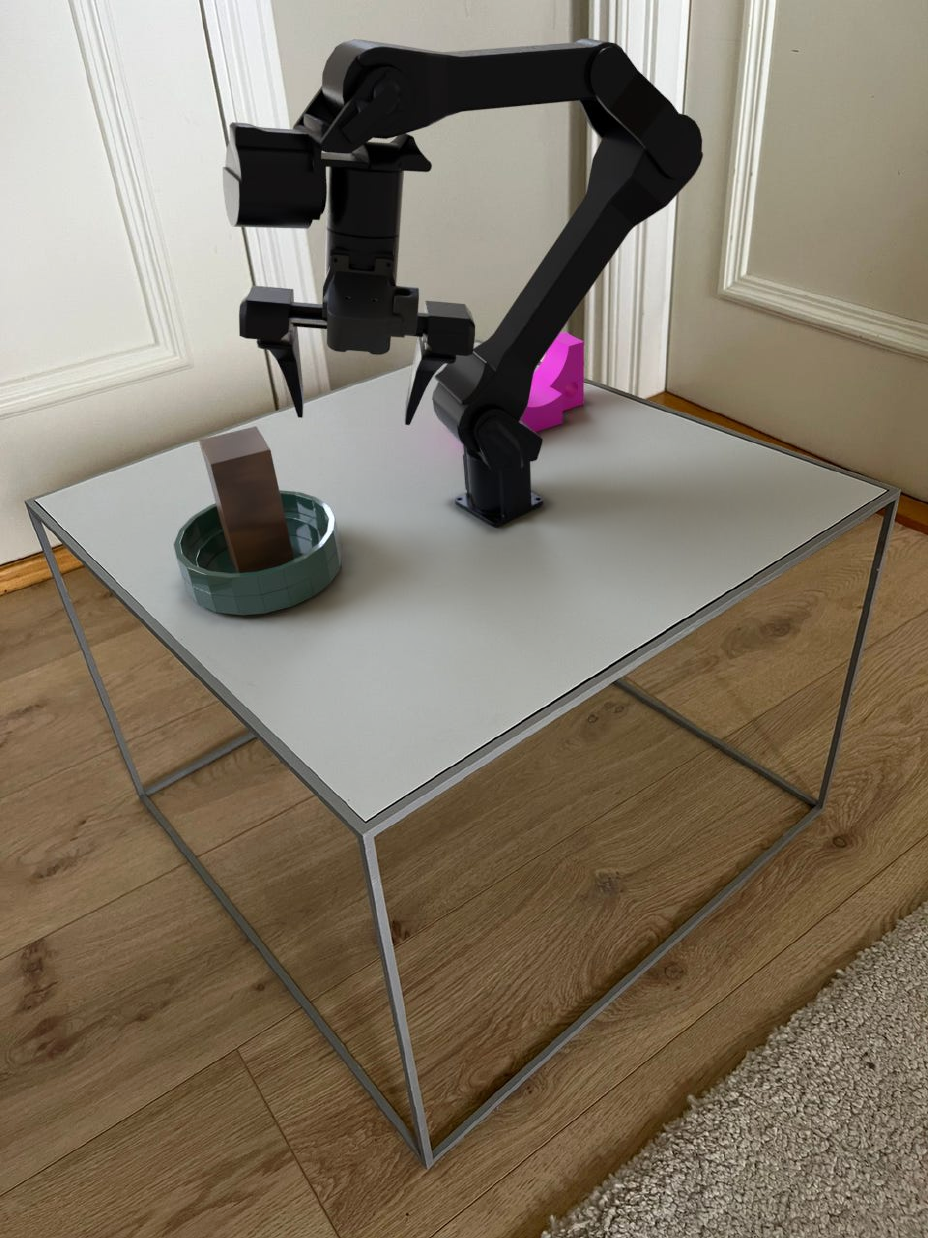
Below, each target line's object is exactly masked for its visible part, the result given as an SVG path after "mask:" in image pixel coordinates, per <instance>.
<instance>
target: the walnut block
mask: <svg viewBox="0 0 928 1238" xmlns="http://www.w3.org/2000/svg"><path fill="white" fill-rule="evenodd" d="M198 442H199V446H200V449H201V452H202V457H203V461H204V465H205V469H206V472H207V476H208V479H209V482H210V488H211V490H212V494H213V498H214V501H215V502H214V503H216V506H217V510H218V513H219V517H220V521H221V525H222V528H223V532H224V536H225V540H226V543H227V547H228V551H229V555H230V558H231V562H232V564H233V566H234V569H235V571H236V573H247V572H258V571H262V570H266V569H269V568H273V567H277V566H281V565H283V564H285V563H287V562H290V561H292V560H294V556H293V551H292V546H291V542H290V537H289V533H288V528H287V523H286V519H285V514H284V510H283V505H282V500H281V496H280V491H279V490H280V487H279V483H278V478H277V473H276V468H275V464H274V460H273V459H274V458H273V454H272V449H271V448H270V447H269V445H268V443H267V442H266V440H265V438H264V436H263V435H262V433H261V432H260V430H259V428H258V427H257V426H252V427H249V428H247V427H246V428H244V429H239V430H236V431H231V432H226V433H223V434H219V435H214V436H210V437H207V438H201V439H199V441H198Z"/></svg>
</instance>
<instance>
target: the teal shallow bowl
mask: <svg viewBox="0 0 928 1238" xmlns="http://www.w3.org/2000/svg"><path fill="white" fill-rule="evenodd" d="M279 491H280V496H281V500H282V505H283V510H284V514H285V519H286V523H287V528H288V533H289V537H290V542H291V546H292V551H293V556H294V560H292V561H290V562H287V563H285V564H283V565H281V566H277V567H273V568H269V569H266V570H262V571H258V572H247V573H236V571H235V569H234V566H233V564H232V562H231V558H230V555H229V551H228V547H227V543H226V540H225V536H224V532H223V528H222V525H221V521H220V517H219V513H218V510H217V506H216V502H214V503H212V504H210V505H208V506H206V507H205V508H203V509H202V510H199V511H198V512H196V513H195V514H194V515H192V516H190V517H189V519H188V520H186V522H185V523H184V524H183V525H182V526H181V527H180V528H179V530H178V531H177V534H176V536H175V539H174V542H173V550H174V553H175V559H176V561H177V564H178V568H179V570H180V574H181V577H182V580H183V584H184V587H185V590H186V593H187V595H188V596H189V597H190V598H191V599H192V600H193V601H194V602H195V603H196V604H197V605H198V606H199V607H201V608H202V607H203V608H205V609H207V610H210V611H212V612H214V613H220V614H228V615H236V616H250V615H265V614H268V613H273V612H276V611H280V610H284V609H287V608H291V607H294V606H295V605H298V604H301V603H302V602H304V601H306V600H308V599H311V598H312V597H315V596H316V595H317V594H318V593H320V592H321V591H322V590H324V589H325V588H326V587H328V585H330V584H331V583H332V582H333V580H334V579H335V577H336V575H337V574H338V572H339V571H340V569H341V564H342V555H343V554H342V548H341V543H340V537H339V536H340V535H339V532H338V531H339V530H338V525H337V519H336V516H335V514H334V512H333V510H332V509H331V506H330V505H328V504H326V503H325V502H324V501H322V500H321V499H320V498H318V497H316V496H313V495H310V494H307V493H303V492H301V491H295V490H285V489H284V490H282V489H279Z"/></svg>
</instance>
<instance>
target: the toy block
mask: <svg viewBox="0 0 928 1238" xmlns="http://www.w3.org/2000/svg"><path fill="white" fill-rule="evenodd" d="M584 375H585V341H583V340H582V339H579V338H577V337H575V336H573V334H570V333H568V332H566V331H563V332H560V333H559V335H558V336H557V338H556V339H555V341H554V342H553V343H552V345H551V346H550V348H549V349H548V351H547V352H546V354H545V355H544V357H543V358H542V360H541V363H539V366H537V368H536V369H535V371H534V374H533V380H532V385H531V391H530V396H529V401H528V406H527V408H526V410H525V412H524V414H523V416H522V418H521V420H522V421H523V422H524V423H525V424H526V425H527V426H529V427H530V428H531V429H532V430H533V431H534V432H535V433H537V432H540V431H543V430H545V429H549V428H552V427H555V426H558V425H561V424H563V412H564V411H567V410H571V409H573V408H577V407H579V406H582V405H584V402H585V401H584V397H585V394H584V391H585V389H584V387H585V385H584V384H585V377H584Z"/></svg>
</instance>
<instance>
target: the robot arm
mask: <svg viewBox="0 0 928 1238" xmlns="http://www.w3.org/2000/svg"><path fill="white" fill-rule="evenodd" d="M630 58H631V57H629V56H628V54H627V53H626V52H625V50H624V48H623V47H622V46H620V45H619V44H618V43H616V42H612V41H604V40H599V39H595V38H587V37H584V38H583V37H582V38H580V39H578V40H576V41H572V42H564V43H551V44H550V43H549V44H537V45H535V44H534V45H523V46H508V47H495V48H483V49H469V50H468V49H467V50H456V51H437V50H432V49H431V50H430V49H424V48H418V47H412V46H406V45H401V44H395V43H394V44H393V43H386V42H379V41H374V40H373V41H372V40H367V39H359V38H358V39H356V38H354V39H351V40H346V41H343V42H341V43H339V44H337V45H336V46H335V47H334V49H333V51H332V52H331V53H330V55H329V56H328V58H327V59H326V61H325V64H324V67H323V71H322V73H321V75H322V76H321V86H320V87H319V88H318V90H317V92H316V93H315V95H314V96H313V98H312V99H311V101H310V102H309V103H308V105H307V106H306V107H305V109H304V110H303V112H302V113H301V114H300V116H299V117H298V119H297V120H296V121H295V123H294V124H293V126H292V129H290V128H278V127H276V128H275V127H263V126H257V125H254V124H251V123H247V122H233V121H232V122H231V123H230V124H229V141H228V144H227V147H226V153H225V166H223V167H222V191H223V198H224V206H225V210H226V216H227V219H228V222H229V224H230V226H231V227H233V228H265V229H269V228H271V229H304V230H305V229H306V230H307V229H310V228H311V226H312V224H313V221H320V220H321V216H322V215H323V214H324V212H325V209H326V222H325V223H326V224H325V229H326V230H325V255H324V257H325V259H324V281H323V283H322V284H323V285H322V299H321V300H322V303H312V302H311V303H308V302H299V301H298V302H297V301H295V295H294V294H295V293H294V288H284V287H274V286H262V285H251V286H250V287H249V288H247V289H246V290H245V292H244V293H243V296H242V299H241V301H240V304H239V308H238V328H239V329H238V330H239V331H238V332H239V333H238V334H239V337H242V338H244V339H246V340H247V339H248V340H256V347H257V348H258V349H260V350H266V351H269V352H270V354H271V355H272V356H273V358H275V360H276V362H277V364H278V367H279V368H280V370H281V372H282V375H283V378H284V380H285V383H286V386H287V389H288V392H289V394H290V399H291V401H292V403H293V407H294V410H295V413H296V416H297V418H300V419H302V418H304V401H305V400H304V399H305V394H304V385H303V384H304V383H303V372H302V362H301V352H300V351H301V350H300V341H299V332H298V331H299V329H298V328H307V329H318V330H326V345H327V347H328V348H329V349H330V350H332V351H333V352H338V353H346V352H348V351H351V352H364V353H370V354H371V355H376V356H381V355H384V354H387V353H388V352H389V351H390V349H391V340H392V338H400V339H401V338H402V339H404V338H405V337H417V340H416V345H415V350H414V356H413V361H412V367H411V373H410V376H409V383H408V388H407V394H406V400H405V410H404V425H405V426H410V425H411V423H412V421H413V418H414V416H415V414H416V412H417V410H418V408H419V405H420V403H421V401H422V398H423V396H424V394H425V391H426V390H427V388H428V387H429V386H428V385H429V384H430V382H431V381H432V379H433V377H434V379H435V380H436V381H437V384H436V386H435V388H434V390H433V392H432V397H431V400H432V404H433V405H432V406H433V411H434V414H435V416H436V418H437V419H438V421H440V422H441V423H442V424H443V425H444V427H446V429H447V430H449V432H450V433H451V434H452V436H454V437H455V438H456V439H457V440H458V441H459V442H460V443H461V444H462V448H463V454H462V462H463V475H464V488H465V489H464V490H465V491H466V492H465V493H463V494H461V495H458V496H456V497H455V498H454V504H455V505H456V506H458V507H459V508H461V509H463V510H464V511H466V512H468V513H470V514H471V515H473V516H474V517H476V518H477V519H479V520H481V521H482V522H484V523H486V524H487V525H489V526H491V527H495V528H496V527H499V526H501V525H503V524H505V523H507V522H510V521H513V520H514V519H516V518H518V517H520V516H522V515H524V514H526V513H529V512H530V511H532V510H534V509H536V508H538V507H541V506H542V505H544V501H545V500H544V499H545V498H543V497H542V496H541V495H539V494H537V493H535V492H534V491H532V474H531V473H532V472H531V470H532V469H531V463H533V462H535V461H537V460H538V458H539V455H540V452H541V449H542V445H543V442H544V439H543V438H542V436H540V435H539V434H538V433H537V432H534V431H533V430H532V429H531V428H530V427H529V426H527V425H526V424H525V423H524V422H523V421H522V420H521V418H522V416H523V414H524V412H525V410H526V408H527V406H528V401H529V396H530V391H531V385H532V380H533V374H534V372H535V371H536V370H537V368H538V365H540V362H542V360H543V359H544V357H545V355H546V352H547V351H548V349H549V348H550V346H551V345H552V343H553V342H554V341H555V339H556V338H557V336H558V335H559V333H562V330H564V327H565V326H566V325H567V323H568V322H569V321H570V319H571V317H573V315H574V313H575V312H576V310H577V309H578V308H579V306H580V304H581V303H582V302H583V301H584V298H585V297H586V296H587V294H588V293H589V292H590V290H591V289H592V287H593V286H594V285H595V283H596V281H597V279H599V277H600V276H601V274H602V272H603V271H604V270H605V268H606V267H607V265H609V263H610V261H611V259H612V258H613V257H614V255H615V254H616V252H617V251H618V250H619V248H620V247H621V245H622V244H623V242H624V241H625V240H626V238H627V237H628V235H629V234H630V232H631V231H632V230H633V229H634V228H636V227H637V226H638V225H640V224H642V222H644V221H646V220H647V219H649V218H651V217H652V216H654V215H656V214H657V213H658V212H660V211H662V210H663V209H665V208H666V207H667V206H668V205H669V204H670V203H671V202H672V201H673V200H674V199H675V198H676V196H677V195H678V194H679V193H680V192H681V191H682V190H683V189H684V188H685V187H686V186H687V185H688V184H689V182H690V181H692V179H693V178H694V177H695V175H696V173H697V171H698V170H699V168H700V166H701V164H702V161H703V158H704V153H703V137H702V133H701V128H700V127H699V125H698V123H697V122H696V120H694V119H693V118H692V117H691V116H690V115H687V114H684V113H680V112H678V110H677V108H676V107H675V106H674V104H673V103H672V102H671V100H670V99H669V98H667V97H666V96H665V95H664V94H663V93H662V92H661V91H660V90H659V89H658V88H657V87H656V86H655V85H654V84H653V83H652V82H651V81H649V80H648V78H647V77H646V76H645V75H644V74H642V73H641V71H639V69H638V68H637V66H636V65H635V64H634V63H633V61H632V59H630ZM567 102H578V105H579V106H580V109H581V111H582V113H583V116H584V117H585V119H586V122H587V124H589V127H590V128H591V129H592V130H593V132H594V133H595V134H596V135H597V136H598V137H599V140H601V141H600V142H599V145H598V147H597V149H596V151H595V153H594V155H593V157H592V161H591V166H590V172H589V177H588V181H587V182H588V183H587V188H586V192H585V196H584V197H583V199H582V201H581V202H580V204H579V205H578V206H577V208H576V210H575V211H574V213H573V214H572V215H571V217H570V219H569V220H568V221H567V223H566V224H565V226H564V228H563V229H562V231H561V232H560V233H559V235H558V236H557V238H556V239H555V241H554V242H553V244H552V245H551V246H550V248H549V250H548V251H547V252H546V254H545V256H544V257H543V259H542V260H541V262H540V264H539V265H538V266H537V267H536V269H535V271H534V272H533V274H532V275H531V276H530V278H529V279H528V281H527V283H526V285H524V287H523V289H522V290H521V291H520V293H519V295H518V296H517V298H516V299H515V300H514V302H513V304H512V305H511V306H510V308H509V309H508V311H507V313H506V314H505V316H504V317H503V319H502V320H501V322H500V323H499V325H498V326H497V327H496V329H495V330H494V332H493V333H492V335H491V336H490V337H489V338H487V339H486V340H485V341H483V342H482V343H480V344H478V345H476V346H475V339H476V323H475V321H474V318H473V315H472V312H471V310H470V308H468V306H467V305H466V304H465V303H459V302H457V303H456V302H446V301H437V300H436V301H434V300H424V305H423V312H419V304H420V303H419V302H420V289H419V287H415V286H414V287H413V286H402V285H401V286H400V285H397V284H398V283H397V282H398V266H399V265H398V264H399V252H400V237H401V236H400V235H401V222H402V209H403V205H402V204H403V195H404V194H403V193H404V191H403V190H404V177H405V175H404V174H405V172H417V173H430V171H431V170H432V168H433V164H432V162H431V161H430V160H429V159H428V158H427V157H426V156H425V154H423V152H422V151H421V149H420V148H419V147H418V144H417V142H416V140H415V137H414V136H413V135H410V134H409V133H412V132H415V131H418V130H421V129H425V128H428V127H430V126H432V125H433V124H435V123H438V122H439V121H441V120H444V119H445V118H447V117H449V116H453V115H456V114H459V113H463V112H473V111H481V110H482V111H483V110H485V111H486V110H493V109H495V110H496V109H504V108H514V107H515V108H516V107H525V106H534V105H537V106H538V105H547V104H557V103H567ZM393 138H394V139H393ZM372 139H383V140H388V139H393V140H391V141H390V142H379V141H371V140H372ZM443 365H445V366H444V367H443V368H442V366H443ZM440 368H442V369H441V371H439V372H438V370H439V369H440ZM436 372H437V374H436Z"/></svg>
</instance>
